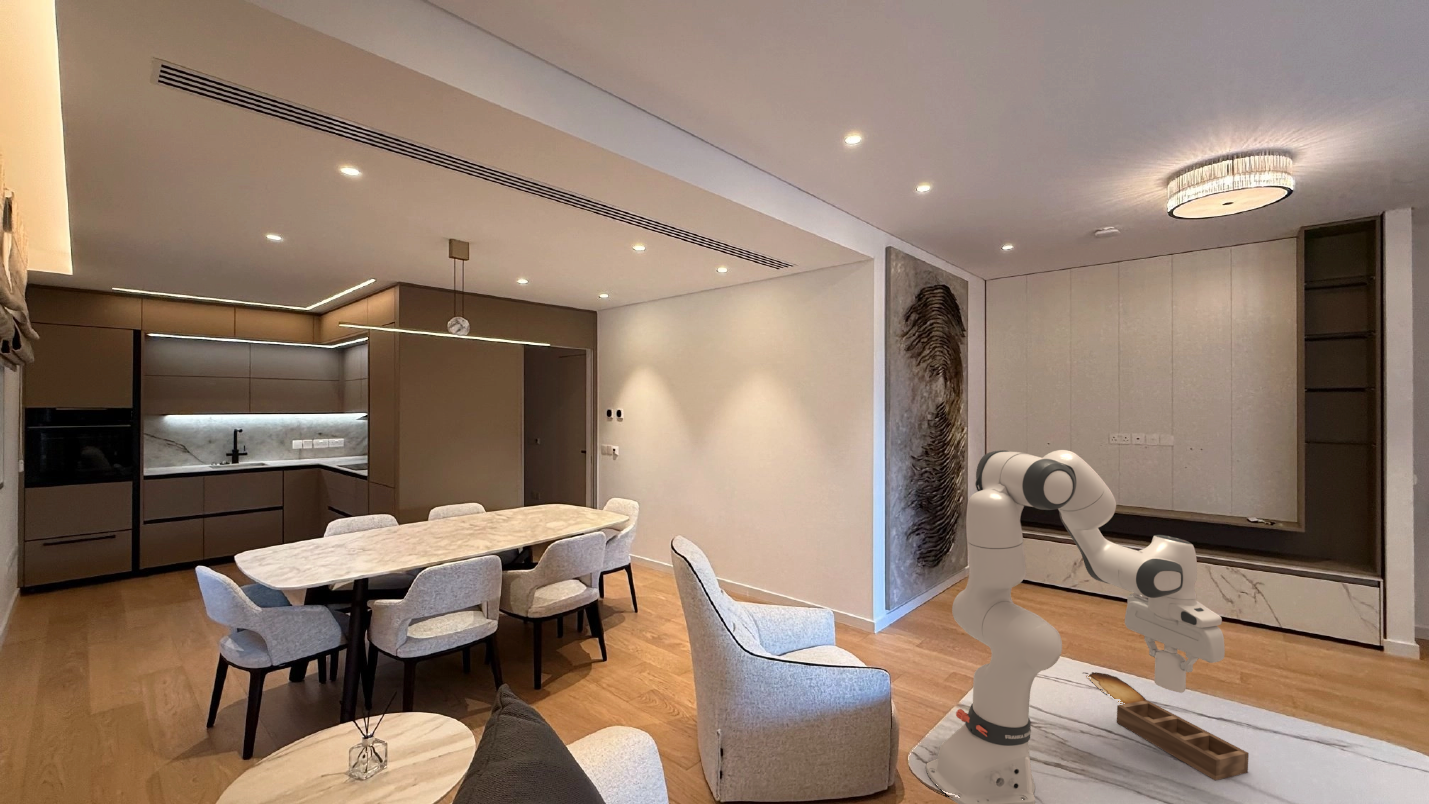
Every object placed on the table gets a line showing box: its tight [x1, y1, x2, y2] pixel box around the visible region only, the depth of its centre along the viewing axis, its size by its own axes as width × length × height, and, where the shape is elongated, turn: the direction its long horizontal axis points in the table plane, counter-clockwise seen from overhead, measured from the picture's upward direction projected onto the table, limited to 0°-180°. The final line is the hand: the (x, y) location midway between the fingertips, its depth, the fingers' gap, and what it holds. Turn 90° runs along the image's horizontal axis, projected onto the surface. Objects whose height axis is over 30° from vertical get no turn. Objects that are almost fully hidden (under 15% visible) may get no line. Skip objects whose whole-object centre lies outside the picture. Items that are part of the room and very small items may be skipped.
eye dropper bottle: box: [1153, 644, 1187, 694], centre depth 134 cm, size 4×6×12 cm
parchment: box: [1082, 671, 1147, 705], centre depth 163 cm, size 25×10×1 cm, turn 173°
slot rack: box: [1116, 699, 1250, 781], centre depth 139 cm, size 10×23×4 cm, turn 17°
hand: (1170, 663), depth 134 cm, fingers closed on eye dropper bottle, 6 cm apart
